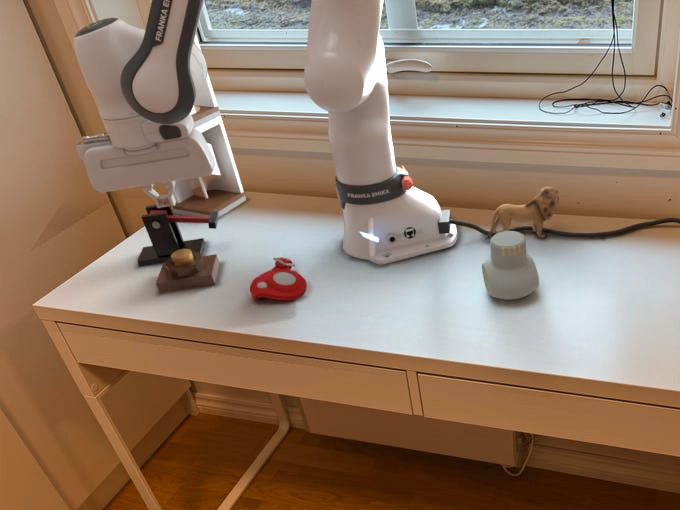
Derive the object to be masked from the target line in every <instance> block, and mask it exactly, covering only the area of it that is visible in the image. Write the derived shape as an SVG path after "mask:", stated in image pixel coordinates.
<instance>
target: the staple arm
mask: <svg viewBox="0 0 680 510" xmlns="http://www.w3.org/2000/svg"><path fill="white" fill-rule="evenodd" d="M161 212H166V213H167V211H163V210H151V212H150V214H154V213H161ZM167 216H168V219H169V221H170V222H177V223H180V224H181V223H184V224H185V223H187V224H207V225H208V229H213V230H216V229H217V227H218V223H219V219H220V217H219V214H218V212H215V211H211V214H210V216H186V215H178V214H174V215H167Z"/></svg>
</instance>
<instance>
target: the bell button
mask: <svg viewBox="0 0 680 510" xmlns="http://www.w3.org/2000/svg"><path fill="white" fill-rule="evenodd" d="M171 257H172V260H173V262H174V265H175V266H182V265H186V264H189V263H191V262H192V261H194V257H193V254H192V252H191V250H190V249H181V250H177V251H175V252H174V253H172V255H171Z"/></svg>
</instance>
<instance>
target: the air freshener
mask: <svg viewBox="0 0 680 510" xmlns="http://www.w3.org/2000/svg"><path fill="white" fill-rule="evenodd" d="M502 231H503V230H502ZM489 245H490V257H488V258H487V259H485V261H484V262H483V263H482V264H481V271H482V277H483V282H484V286H485V288H486V291H487V294H488V295H489V296H491V297H493V298H496V299H500V300H506V301H507V300H508V301H510V300H518V299H522V298H524V297H527V296H529V295H531V294H532V293H534V292H535V291H536V290H537V289H538V287H539V285H540V278H539V273H538V270H537V269H538V268H537V265H536V263H535V261H534V259H533V257H532V256H530V255H529V254H527V237H526V236H525V235H524V234H523V233H521V232H520V231H518V232H516V231H503V232H499V233H497V234H495V235H494V236H491V237H490V240H489Z"/></svg>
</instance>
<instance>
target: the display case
mask: <svg viewBox="0 0 680 510" xmlns="http://www.w3.org/2000/svg"><path fill="white" fill-rule="evenodd" d="M194 44H195V45H196V46H197V47H198V48H199V49H200V50H201V51H202V49H201V45H200V42H199V38H198V36H197V34H196V36H195V40H194ZM190 115H191V116H192V118H193V121H194V126H193V128H194V129H196V130H198V131H199V132H200V133H201V134H202V135H203V137H204V138H205V140H206V142H207V144H208V146H209V148H210V150H211V153H212V155H213V158H214V161H215V168H214V171H213V172H212V174H211V175H210V176H204V177H198V178H191V179H185V180H179V181H175V182H176V183H175V187H174V192H173V195H174V198H175V201H176V204H175V206H172V210H173V213H174V215H179V216H210V214H211V211H215V212H218V214H219V218H220V217H222V216H224V215H225V214H227V213H228V212H230V211H232V210H233V209H235V208H236V207H238V206H239V205H241V204H242V203H244V202H246V201H247V198H246V194H245V191H244V188H243V184H242V180H241V177H240V174H239V171H238V167H237V164H236V161H235V158H234V154H233V151H232V148H231V145H230V142H229V138H228V135H227V131H226V128H225V125H224V122H223V119H222V115H221V111H220V108H219V105H218V102H217V98H216V95H215V92H214V89H213V86H212V82H211V78H210V76H209V71H207V77H206V80H205V82H204V85H203V87H202V88H201V90H200V92H199V94H198V96H197V97H196V99H195V102H194V105H193V108H192V110H191V112H190Z"/></svg>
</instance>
